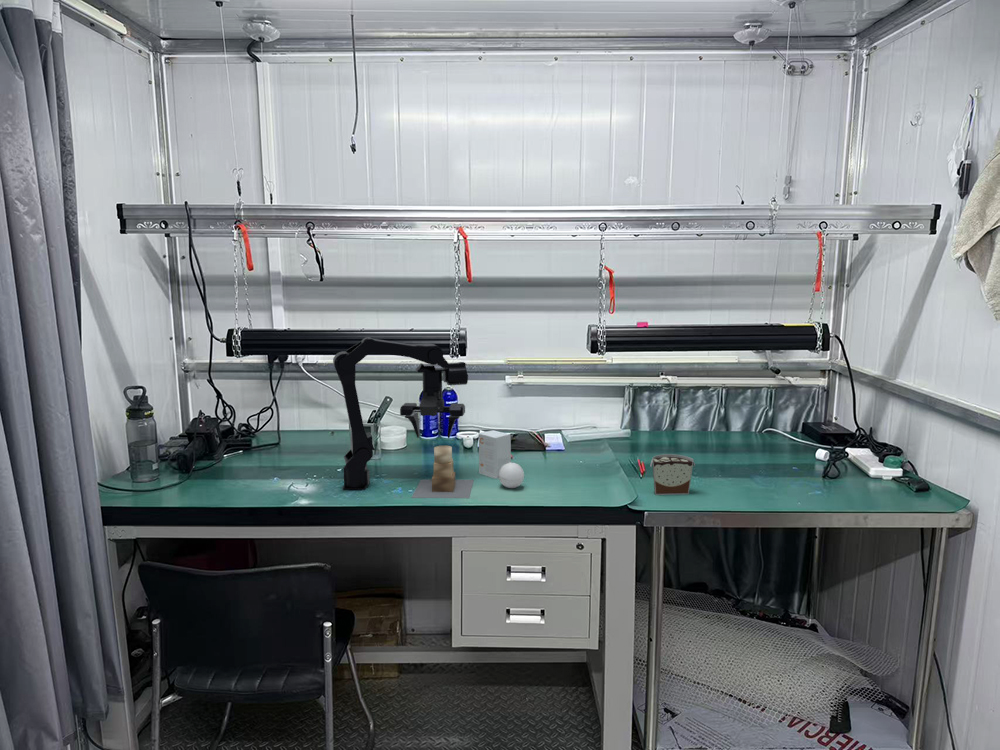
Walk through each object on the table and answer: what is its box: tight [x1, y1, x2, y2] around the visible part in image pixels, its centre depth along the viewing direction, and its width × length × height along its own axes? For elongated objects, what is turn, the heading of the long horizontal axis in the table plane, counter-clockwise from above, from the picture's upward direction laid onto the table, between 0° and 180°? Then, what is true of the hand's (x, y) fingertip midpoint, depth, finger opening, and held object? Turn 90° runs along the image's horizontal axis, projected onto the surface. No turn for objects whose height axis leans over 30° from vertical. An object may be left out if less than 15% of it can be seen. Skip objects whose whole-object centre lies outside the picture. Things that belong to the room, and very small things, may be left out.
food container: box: [649, 453, 696, 496], centre depth 178 cm, size 12×6×10 cm, turn 91°
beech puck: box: [433, 445, 453, 464], centre depth 180 cm, size 5×5×4 cm
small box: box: [478, 429, 512, 480], centre depth 194 cm, size 8×6×13 cm
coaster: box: [411, 478, 475, 499], centre depth 182 cm, size 16×16×1 cm
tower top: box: [433, 458, 454, 478], centre depth 181 cm, size 5×5×4 cm
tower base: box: [431, 471, 456, 492], centre depth 181 cm, size 6×6×4 cm
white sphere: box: [493, 462, 525, 489], centre depth 182 cm, size 10×7×7 cm
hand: (433, 437), depth 190 cm, fingers open, 9 cm apart
